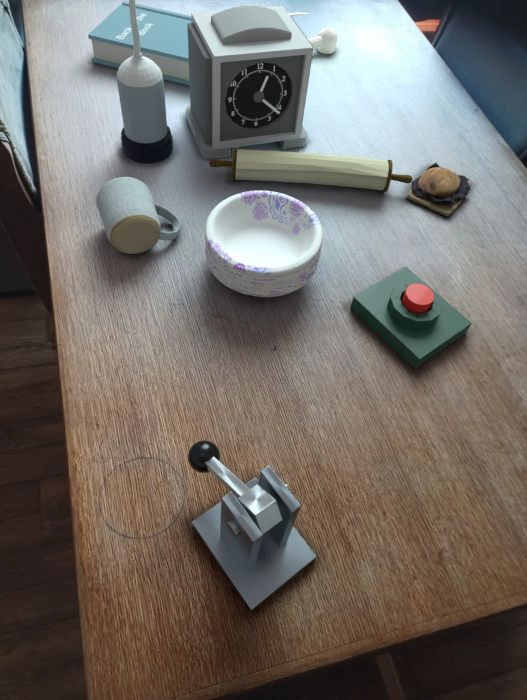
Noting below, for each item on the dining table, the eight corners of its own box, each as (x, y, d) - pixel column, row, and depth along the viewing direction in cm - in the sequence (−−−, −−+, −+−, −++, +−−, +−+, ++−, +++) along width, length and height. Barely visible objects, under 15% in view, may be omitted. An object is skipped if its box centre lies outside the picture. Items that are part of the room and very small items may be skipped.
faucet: (328, 75, 116) (349, 26, 109) (264, 65, 105) (283, 9, 99) (317, 66, 118) (337, 17, 111) (253, 55, 107) (271, 0, 100)
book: (92, 62, 103) (88, 34, 99) (129, 25, 112) (126, -1, 108) (205, 89, 101) (204, 62, 97) (233, 49, 110) (233, 23, 106)
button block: (465, 333, 72) (477, 314, 69) (414, 369, 68) (424, 351, 65) (401, 277, 77) (409, 256, 74) (349, 307, 73) (356, 287, 70)
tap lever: (188, 469, 55) (178, 446, 54) (214, 452, 56) (204, 429, 55) (258, 542, 45) (248, 515, 44) (288, 519, 46) (279, 493, 45)
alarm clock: (203, 159, 89) (201, 43, 74) (184, 114, 96) (179, 0, 81) (308, 145, 93) (326, 33, 78) (282, 102, 100) (294, -8, 85)
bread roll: (449, 220, 85) (458, 202, 82) (401, 197, 87) (408, 178, 84) (474, 186, 90) (483, 167, 87) (428, 165, 92) (435, 146, 89)
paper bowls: (195, 303, 71) (193, 260, 65) (216, 225, 80) (217, 180, 74) (309, 321, 71) (319, 280, 64) (319, 241, 80) (328, 197, 73)
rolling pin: (405, 181, 89) (414, 155, 85) (409, 203, 86) (419, 177, 82) (210, 164, 88) (210, 136, 84) (206, 186, 85) (206, 158, 81)
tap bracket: (191, 525, 55) (186, 481, 45) (254, 480, 58) (263, 431, 48) (250, 612, 51) (259, 584, 41) (315, 559, 54) (337, 522, 44)
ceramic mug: (113, 263, 74) (105, 220, 68) (100, 223, 78) (91, 179, 72) (188, 247, 77) (187, 204, 71) (171, 210, 81) (169, 166, 75)
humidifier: (172, 133, 92) (160, -37, 72) (173, 163, 88) (161, -9, 67) (123, 133, 91) (97, -39, 71) (121, 164, 86) (93, -11, 66)
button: (435, 305, 69) (440, 297, 68) (416, 318, 68) (420, 309, 67) (415, 288, 71) (419, 279, 69) (395, 300, 69) (399, 290, 68)
